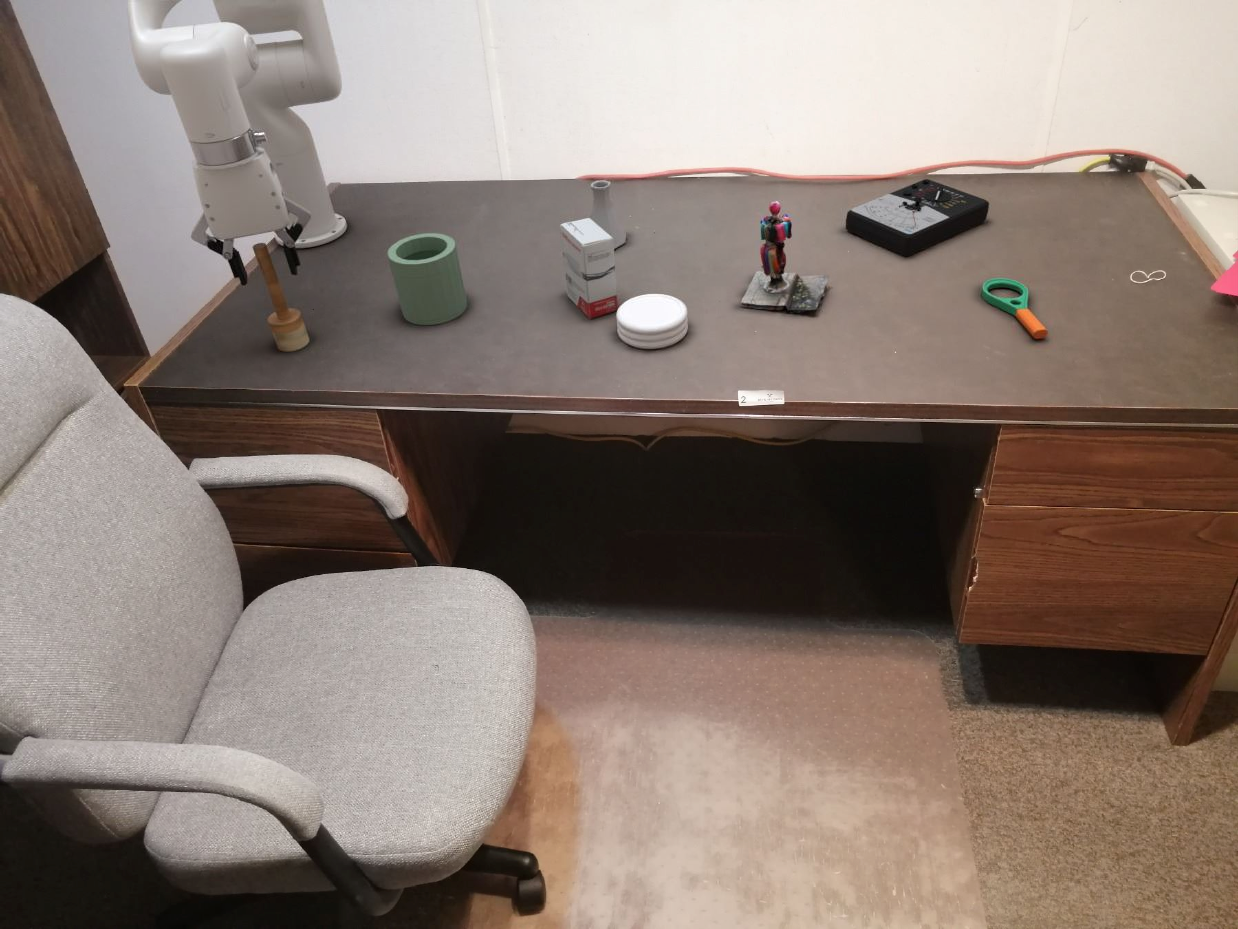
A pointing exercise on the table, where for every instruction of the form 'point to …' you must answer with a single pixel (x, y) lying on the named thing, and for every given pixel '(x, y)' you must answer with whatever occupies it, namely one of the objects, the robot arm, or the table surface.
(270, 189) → the robot arm
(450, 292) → the jar
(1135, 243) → the table surface
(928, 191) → the multimeter
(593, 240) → the ink box
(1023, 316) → the magnifying glass
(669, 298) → the white round disc stack
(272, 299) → the wooden stamp
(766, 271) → the statue
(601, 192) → the flask
